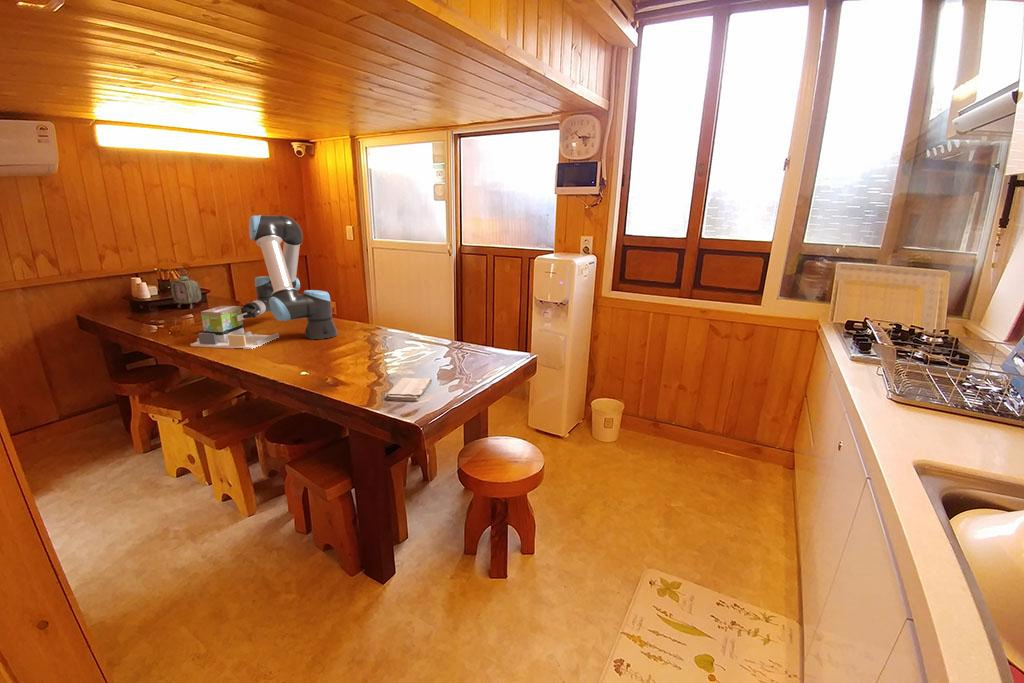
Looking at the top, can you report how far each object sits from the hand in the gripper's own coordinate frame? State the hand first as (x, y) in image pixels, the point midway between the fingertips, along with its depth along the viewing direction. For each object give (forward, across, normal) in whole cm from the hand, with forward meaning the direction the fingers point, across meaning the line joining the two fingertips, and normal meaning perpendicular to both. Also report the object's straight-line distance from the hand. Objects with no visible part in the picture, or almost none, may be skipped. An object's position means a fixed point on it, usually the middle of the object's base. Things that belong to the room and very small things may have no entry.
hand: (224, 317), depth 217 cm
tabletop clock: (-60, +75, -11) cm, 97 cm away
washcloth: (+50, -110, -11) cm, 122 cm away
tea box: (+2, 0, -10) cm, 10 cm away
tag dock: (+4, -8, -11) cm, 14 cm away
